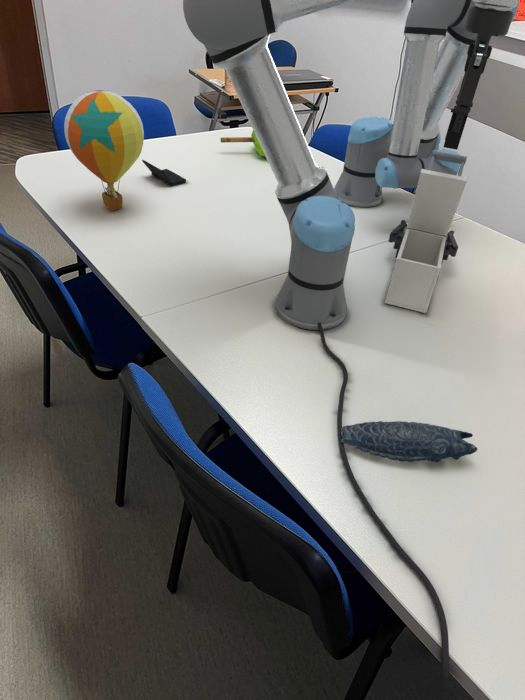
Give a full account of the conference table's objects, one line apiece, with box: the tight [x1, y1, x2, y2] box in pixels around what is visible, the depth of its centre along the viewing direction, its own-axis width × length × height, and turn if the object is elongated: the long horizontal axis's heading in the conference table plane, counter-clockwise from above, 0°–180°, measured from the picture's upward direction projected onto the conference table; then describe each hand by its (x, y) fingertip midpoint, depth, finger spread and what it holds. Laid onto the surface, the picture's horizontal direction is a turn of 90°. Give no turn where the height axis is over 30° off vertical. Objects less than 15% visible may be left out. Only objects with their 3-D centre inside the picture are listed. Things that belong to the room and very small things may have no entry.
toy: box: [63, 89, 145, 212], centre depth 136 cm, size 20×20×30 cm
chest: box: [384, 228, 446, 314], centre depth 119 cm, size 17×9×11 cm, turn 160°
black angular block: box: [141, 159, 187, 187], centre depth 162 cm, size 12×7×10 cm
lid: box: [407, 151, 469, 236], centre depth 115 cm, size 18×9×9 cm
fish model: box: [340, 420, 478, 463], centre depth 82 cm, size 7×21×5 cm, turn 84°
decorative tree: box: [220, 129, 266, 158], centre depth 187 cm, size 18×10×30 cm
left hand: (450, 144), depth 105 cm, fingers open, 5 cm apart
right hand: (419, 257), depth 122 cm, fingers closed on chest, 9 cm apart
